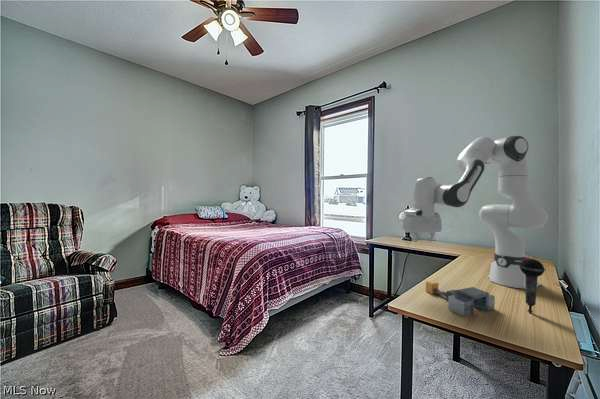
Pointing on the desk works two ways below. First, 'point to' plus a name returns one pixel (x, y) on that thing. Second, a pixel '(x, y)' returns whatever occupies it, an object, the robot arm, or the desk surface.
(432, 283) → the plug
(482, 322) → the desk surface
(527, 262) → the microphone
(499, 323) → the desk surface
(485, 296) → the block
